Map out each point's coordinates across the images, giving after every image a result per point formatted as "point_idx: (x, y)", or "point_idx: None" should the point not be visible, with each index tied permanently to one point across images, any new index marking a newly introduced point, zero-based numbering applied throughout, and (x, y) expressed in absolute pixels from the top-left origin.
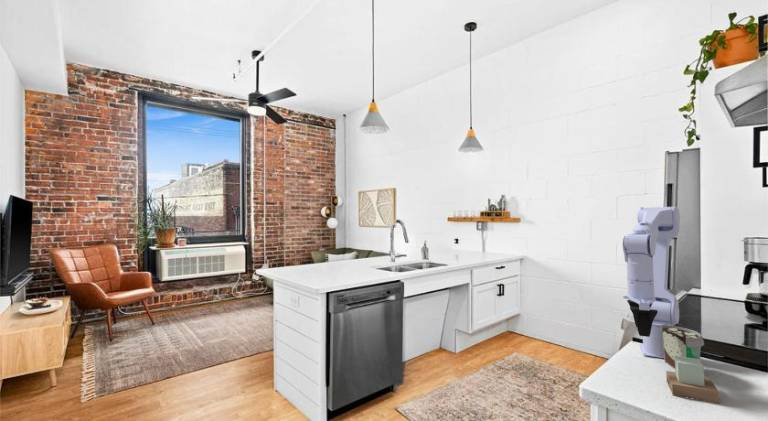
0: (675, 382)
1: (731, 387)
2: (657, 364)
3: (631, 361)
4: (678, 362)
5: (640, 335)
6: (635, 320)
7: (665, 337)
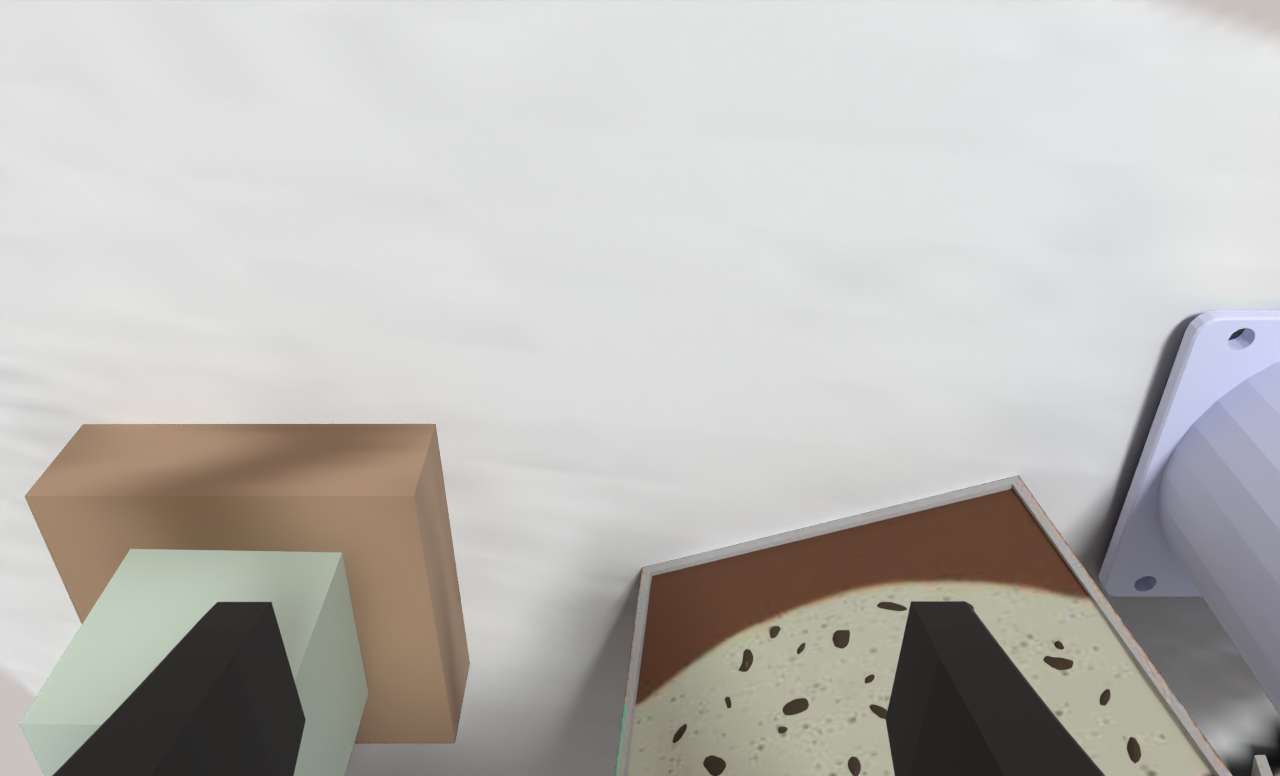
0: (104, 524)
1: (567, 766)
2: (924, 406)
3: (944, 150)
4: (27, 730)
5: (202, 620)
6: (969, 732)
7: (1108, 739)
